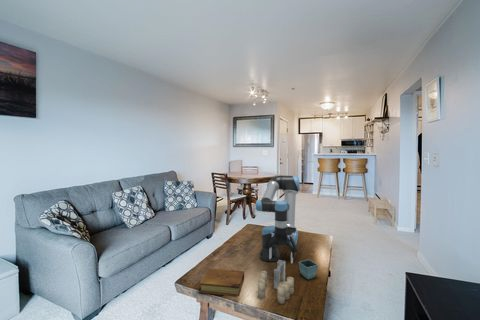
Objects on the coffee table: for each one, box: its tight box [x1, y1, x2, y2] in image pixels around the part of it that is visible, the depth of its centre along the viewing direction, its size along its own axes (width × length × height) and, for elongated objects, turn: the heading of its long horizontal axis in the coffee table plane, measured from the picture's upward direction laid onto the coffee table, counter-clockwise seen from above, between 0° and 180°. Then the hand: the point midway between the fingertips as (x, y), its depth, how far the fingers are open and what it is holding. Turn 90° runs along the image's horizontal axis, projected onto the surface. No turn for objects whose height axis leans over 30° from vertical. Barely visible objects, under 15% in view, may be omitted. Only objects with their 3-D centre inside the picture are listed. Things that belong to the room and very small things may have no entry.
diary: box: [199, 268, 245, 297], centre depth 140 cm, size 23×19×6 cm
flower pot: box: [298, 259, 319, 280], centre depth 150 cm, size 9×9×9 cm
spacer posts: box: [257, 270, 295, 305], centre depth 131 cm, size 14×20×8 cm
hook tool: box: [273, 259, 286, 290], centre depth 142 cm, size 13×4×12 cm, turn 155°
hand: (280, 260), depth 145 cm, fingers open, 13 cm apart
